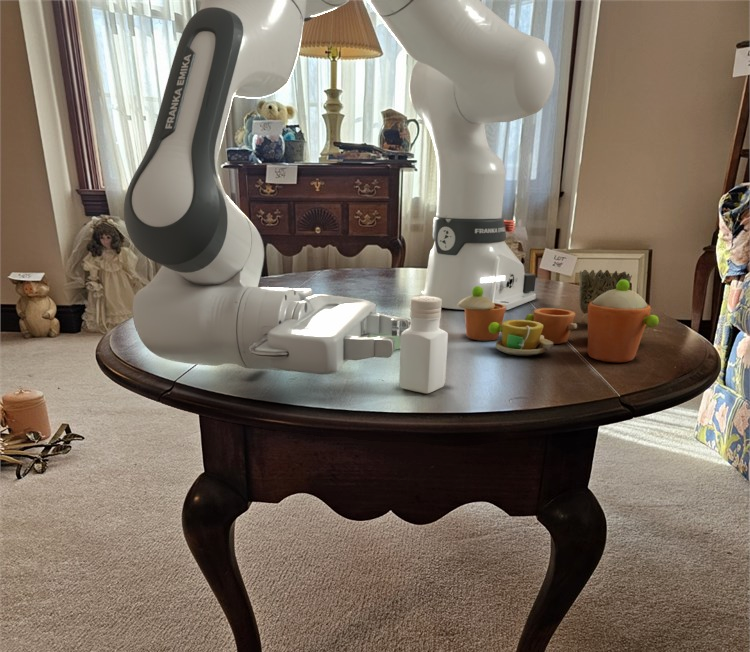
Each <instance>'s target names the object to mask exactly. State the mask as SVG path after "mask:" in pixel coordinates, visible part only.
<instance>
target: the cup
mask: <svg viewBox="0 0 750 652" xmlns="http://www.w3.org/2000/svg"><path fill="white" fill-rule="evenodd" d="M589 272H590V273H589ZM632 277H633V275H632V274H631V275H630V273H627V272H626V271H621V272H620V273H618V270H614V272H613V273H612V274H611V273H610V271H609V270H608V269H606V270H605V271H603V270H602V269H599V270H598V271H597V272H596V273H595V270H594V269H592V270H591V271H588V270H587V269H583V270H580V271H579V281H578V282H579V284H578V285H579V286H578V305H579V308H580V311H581V312H582V313H583V315H584V314H586V313H588V305H589V303H590V302H592V301H594V300H595V299H596V298H597V297H598V296H600V295H601V294H603V293H605V292H607V291H609V290H613V289H617V287H616V286H617V283H618V282H619V281H620V280H627V281H628V282H629V284H630V283H631V280H632ZM585 325H586V326H587V327H588V325H587V324H585Z"/></svg>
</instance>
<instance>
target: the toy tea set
mask: <svg viewBox="0 0 750 652" xmlns="http://www.w3.org/2000/svg"><path fill="white" fill-rule="evenodd" d="M616 287H617V289H613V290H609V291H607V292H605V293H603V294H601V295H600V296H598V297H597V298H596V299H595V300H594V301H592V302H590V303H589V305H588V313H586V314H584V313H583V314H582V317H581V322H582V323H584V324H585V325H586V324H587V325H588V326H587V325H586V326H587V355H588V356H589V357H590V358H591V359H593V360H596V361H599V362H605V363H614V364H615V363H628V362H631V361H633V360H634V359H635V357H636V356H637V355H636V354H637V352H638V349H639V346H640V343H641V341H642V338H643V335H644V332H645V329H648V328H655V327H657V326H658V324H659V321H660V320H659V319H660V318H659V316H657V315H656V314H651V312H652V308H651V305H649V304H648V303H647V302H646V301H645V299H644V298H643V296H641V295H640V294H639V293H637V292H636V291H633V290H631V289H629V288H630V283H629V282H628V281H627V280H620V281H619V282H618V283H617V286H616ZM472 294H473V296H469V297H466V298H464V299H463V300H462V301H460V302H459V304H458V306H459V307H461V308H465V310H464V319H465V321H464V323H465V333H466V337H467V338H468V339H470V340H474V341H481V342H489V341H491V342H492V341H495V340H497V339H499V337H500V334H501V339H500V340H497V341H496V342H495V349H497V350H498V351H500V352H502V353H505V354H507V355H511V356H512V355H513V356H520V357H529V356H537V355H540V354H543V353H545V352H546V351H547V350H549V349H553V348H554V345H559V344H564V343H566V342H567V341H568V340H569V337H570V333H571V331H573V330H577V329H578V324H577V323H576V322H574V320H575V317H576V313H575V311H573V310H569V309H564V308H553V307H542V308H541V307H540V308H535V309H534V310H533V311H532V312H533V313H528V314H527V315H526V316H525V319H507V320H504V318H505V314H506V311H507V310H506V306H505V305H502V304H498V303H493V302H492V301H491V300H490V299H488V298H486V297H484V296H482V295H483V289H482V288H481V287H480V286H476V287H474V288H473V290H472Z"/></svg>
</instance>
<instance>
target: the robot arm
mask: <svg viewBox="0 0 750 652" xmlns="http://www.w3.org/2000/svg"><path fill="white" fill-rule="evenodd" d="M366 1H367V3H368V4H369V5H370V7H371V8H372V10H373V11H374V13H376V15H377V17H378V18H379V19H380V20H381V21H382V23H383V24H384V26H385V27H386V28H387V29H388V31H389V32H390V33H391V35H392V36H393V37H394V39H395V40H396V41H397V43H398V44H399V45H400V46H401V48H402V49H403V50H404V51H405V53H406V54H407V55H408V56H409V57H411V59H413V60H415V61H416V62H415V64H414V65H413V67H412V71H411V72H410V77H409V84H408V86H409V87H408V92H409V93H408V94H409V99H410V102H411V105H412V108H413V110H414V112H415V113H416V114H417V116H418V117H419V118H420V119H421V121H423V123H424V125H425V126H426V128H427V130H428V134H429V135H430V138H431V142H432V145H433V150H434V153H435V160H436V170H437V171H436V172H437V175H436V176H437V179H436V181H437V183H436V211H435V212H436V214H435V216H434V217H433V222H432V228H431V229H432V235H431V236H432V237H431V239H432V240H434V242H433V246H432V248H431V249H430V252H429V254H428V261H427V269H426V277H425V282H424V283H425V284H424V289H423V290H421V292H420V296H430V297H437V298H440V299H442V304H441V309H442V308H444V309H450V310H451V309H452V310H464V311H465V308H461V307H459V306H458V304H459V302H460V301H462V300H463V299H464V298H466V297H469V296H473V294H472V290H473V288H474V287H476V286H480V287H481V288H482V289H483V295H482V296H484V297H486V298H488V299H490V300H491V301H492V302H493V303H498V304H502V305H505V306H506V310H505V311H508V310H511V309H513V308H517V307H519V306H521V305H524V304H527V303H528V302H531V301H535V300H536V298H537V297H536V295H537V294H536V293H535V288H536V281H537V274H534V273H529V272H525V266H524V264H523V263H522V261H521V260H520V259H519V258H518V257H517V256H516V254H515V253H514V252H513V250H512V249H511V248H510V246H509V245H508V244H507V243H506V240H507V233H509V234H513V233H514V232H515V231H514V230H516V227H517V226H516V221H515V220H514V219H511V220H507V219H504V218H503V206H504V196H505V185H506V175H507V173H506V167H505V163H504V162H503V160H502V158H501V157H499V155H497V154H496V153H494V152H493V151H492V149H491V147H490V145H489V143H488V139H487V134H486V124H493V123H511V122H514V121H517V120H521V119H524V118H526V117H529V116H532V115H535V114H537V113H539V112H540V111H541V110H542V109H543V108H544V107H545V105H546V104H547V102H548V101H549V99H550V97H551V94H552V92H553V88H554V85H555V78H556V65H555V60H554V57H553V53H552V51H551V49H550V47H549V45H548V43H546V42H545V40H543V39H541V38H539V37H536V36H533V35H531V34H528V33H526V32H524V31H521V30H519V29H517V28H516V27H514V26H512V25H511V24H509V23H508V22H507V21H506V20H504V19H502V18H501V17H500V16H499V15H498V14H496V13H495V12H494V11H493V10H491V9H490V8H489V7H488V6H486V5H485V4H484V3H483V2H482V1H481V0H366ZM349 2H350V0H201V3H200V7H199V10H198V11H197V12H195V13H194V14H193V15H192V17H190V19H189V20H188V21H187V24H186V25H185V27H184V29H183V31H182V32H181V36H180V38H179V42H178V44H177V47H176V50H175V54H174V57H173V60H172V63H171V66H170V70H169V74H168V77H167V80H166V81H167V82H166V85H165V89H164V92H163V96H162V100H161V104H160V107H159V111H158V113H157V114H158V115H157V118H156V122H155V125H154V129H153V133H152V136H151V139H150V142H149V144H148V146H147V150H146V152H145V154H144V155H143V158H142V160H141V162H140V164H139V165H138V166H137V168H136V170H135V172H134V175H133V176H132V178H131V180H130V182H129V184H128V187H127V189H126V193H125V196H124V203H123V218H124V220H123V221H124V225H125V229H126V232H127V235H128V238H130V240H131V242H132V244H133V245H134V247H135V248H136V249H137V250H138V252H139V253H141V255H143V256H144V257H146V258H147V259H149V260H151V261H152V262H154V263H156V264H158V265H161V266H160V268H159V270H158V271H157V272H156V274H155V275H154V276H153V277H152V279H150V281H149V282H148V283H147V284H146V285H145V286H143V287H142V288H140V289H139V290H138V291H137V292H136V293H135V295H134V297H133V301H132V318H133V325H134V328H135V330H136V332H137V335H138V337H139V339H140V341H141V342H142V344H143V345H144V347H145V348H146V349H147V350H149V351H150V352H151V353H152V354H154V355H155V356H157V357H158V358H161V359H163V360H168V361H171V362H177V363H182V364H189V365H197V366H207V367H208V366H210V367H219V366H224V365H227V364H229V365H230V364H231V365H238V366H239V367H243V368H245V369H252V370H263V371H264V370H265V371H281V372H296V373H305V374H312V375H330V374H331V375H332V374H336V373H338V372H339V370H340V369H342V367H343V366H345V364H346V363H347V362H348V361H358V360H359V361H360V360H367V359H373V358H382V359H389V358H391V357H392V355H393V354H395V353H394V352H395V350H394V344H395V341H394V339H393V338H392V337H382V336H377V337H376V338H369V337H370V336H371V335H372V334H379V333H383V334H392V336H401V333H402V332H403V331H405V330H406V329H408V328H409V320H408V319H409V318H408V319H407V317H403V318H395V317H392V315H388V314H385V313H379V312H378V313H377V305H376V303H374V302H372V301H370V300H366V299H363V298H355V297H348V296H339V295H331V294H314V291H313V289H311V288H305V287H304V288H303V287H301V288H300V287H299V288H289V287H269V286H267V287H266V286H260V283H261V279H262V275H263V270H264V266H265V265H264V264H265V258H266V252H265V245H264V241H263V238H262V236H261V233H260V231H259V230H258V229H257V227H256V226H255V225H254V224H253V222H252V220H250V218H249V217H248V216H247V215H246V214H245V213H244V212H243V210H242V209H240V207H238V206H237V205H236V204H235V203H234V201H233V200H232V199H231V198H230V197H229V196H228V195H227V193H226V191H225V189H224V186H223V184H222V181H221V177H220V173H219V168H218V159H219V155H220V150H221V146H222V143H223V139H224V135H225V130H226V128H227V127H226V126H227V123H228V120H229V119H228V118H229V116H230V115H229V114H230V111H231V107H232V103H233V99H234V97H238V98H245V99H261V98H262V99H263V98H267V97H270V96H272V95H274V94H276V93H278V92H279V91H281V90H282V89H283V88H284V87H286V86H287V85H288V84H289V82H290V80H291V77H292V75H293V72H294V70H295V67H296V64H297V61H298V57H299V53H300V49H301V43H302V37H303V29H304V24H305V23H306V22H308V21H311V20H313V18H314V17H317V16H320V15H323V14H325V13H328V12H331V11H334V10H336V9H338V8H340V7H343V6H345V5H346V4H347V3H349Z"/></svg>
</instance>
